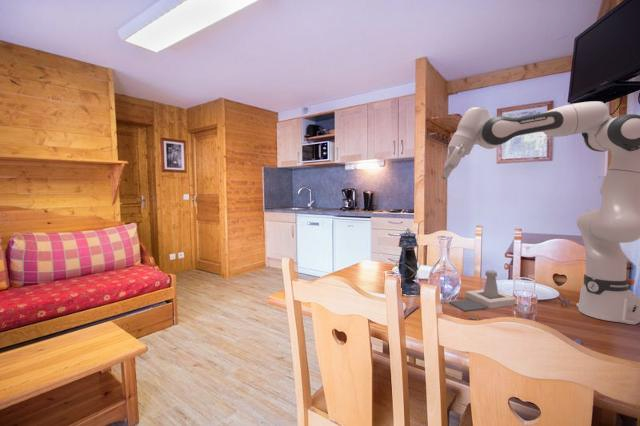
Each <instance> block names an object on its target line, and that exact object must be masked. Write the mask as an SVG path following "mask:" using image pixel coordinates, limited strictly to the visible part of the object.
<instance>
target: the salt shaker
mask: <svg viewBox="0 0 640 426" xmlns="http://www.w3.org/2000/svg"><path fill="white" fill-rule="evenodd" d="M484 275H485V276H486V281H485V285H484V293H483V296H484V297H486V298H489V299H495V298H498V297H499V294H498V291H499V289H498V284H497V279H496V278H497V276H498V272H497V271H496V270H492V269H487V270H486V271H485V274H484Z"/></svg>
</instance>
